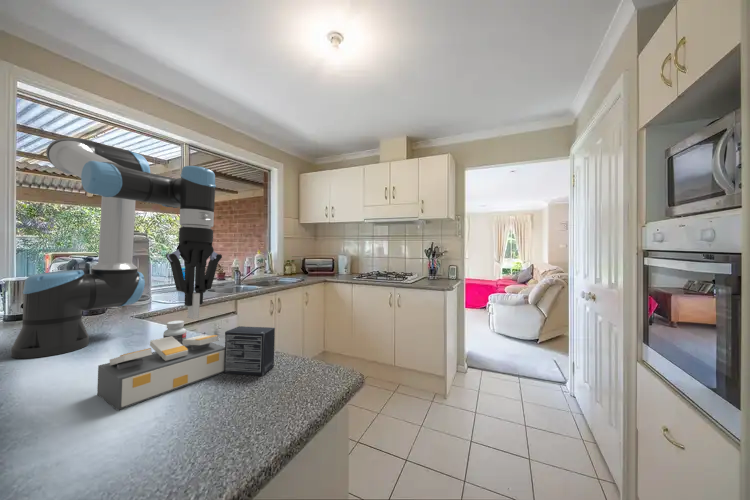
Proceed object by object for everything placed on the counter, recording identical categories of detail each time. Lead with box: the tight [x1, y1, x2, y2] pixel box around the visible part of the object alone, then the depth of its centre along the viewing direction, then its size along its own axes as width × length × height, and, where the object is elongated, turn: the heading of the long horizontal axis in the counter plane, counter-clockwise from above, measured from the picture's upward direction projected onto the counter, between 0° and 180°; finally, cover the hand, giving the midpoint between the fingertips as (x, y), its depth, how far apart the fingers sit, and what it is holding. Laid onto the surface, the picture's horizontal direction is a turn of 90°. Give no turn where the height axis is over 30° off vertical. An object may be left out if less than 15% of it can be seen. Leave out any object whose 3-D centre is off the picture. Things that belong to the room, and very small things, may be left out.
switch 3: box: [183, 334, 219, 345], centre depth 70 cm, size 8×4×1 cm, turn 60°
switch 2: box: [149, 336, 188, 361], centre depth 64 cm, size 8×4×1 cm, turn 59°
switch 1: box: [109, 347, 153, 366], centre depth 58 cm, size 8×4×1 cm, turn 60°
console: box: [96, 342, 225, 411], centre depth 64 cm, size 11×21×7 cm, turn 149°
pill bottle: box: [162, 320, 187, 345], centre depth 80 cm, size 5×5×10 cm
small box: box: [223, 325, 276, 377], centre depth 72 cm, size 11×6×10 cm, turn 84°
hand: (193, 317), depth 72 cm, fingers closed
